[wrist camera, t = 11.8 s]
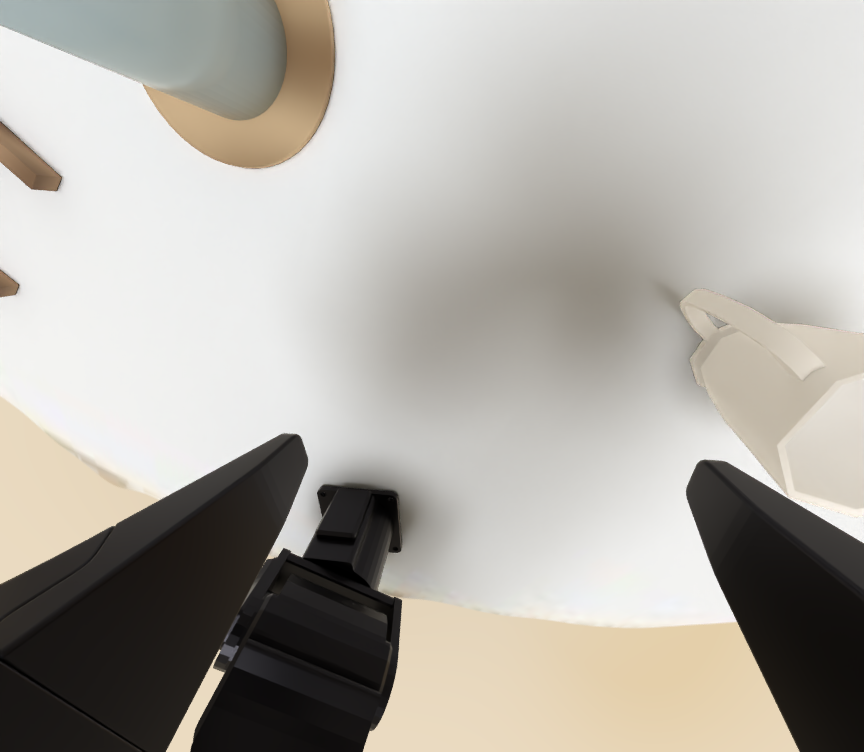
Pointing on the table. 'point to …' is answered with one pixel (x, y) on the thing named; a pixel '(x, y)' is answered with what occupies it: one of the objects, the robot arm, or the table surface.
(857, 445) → the cup
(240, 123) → the coaster
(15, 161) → the dock
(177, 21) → the jug
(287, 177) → the table surface
